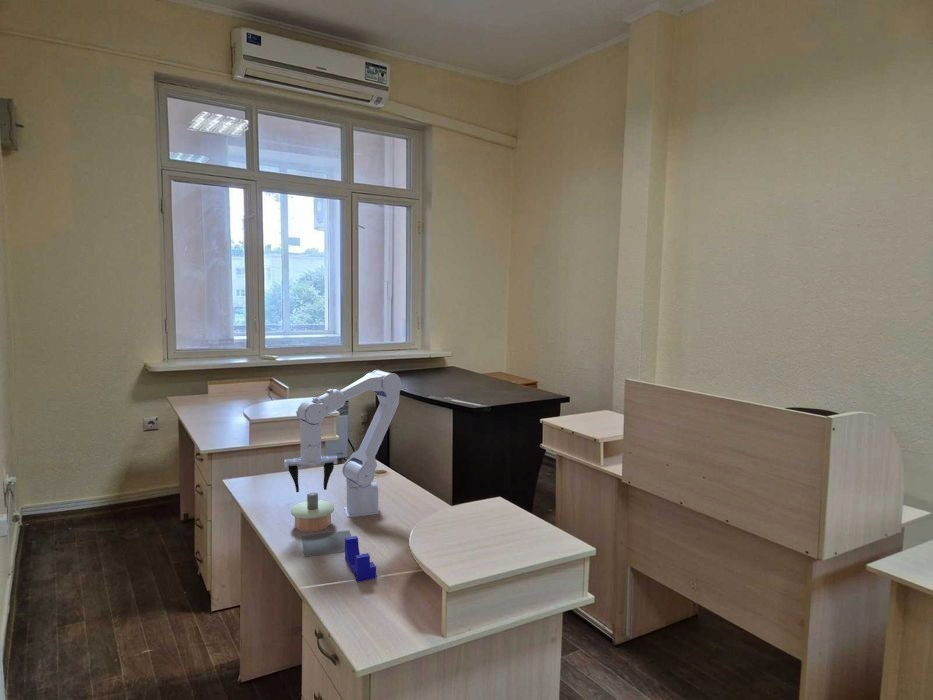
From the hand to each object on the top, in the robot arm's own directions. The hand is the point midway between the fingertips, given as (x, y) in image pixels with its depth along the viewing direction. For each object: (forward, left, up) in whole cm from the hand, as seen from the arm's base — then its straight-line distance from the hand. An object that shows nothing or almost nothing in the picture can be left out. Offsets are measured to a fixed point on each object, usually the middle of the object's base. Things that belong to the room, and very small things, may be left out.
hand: (311, 489), depth 167 cm
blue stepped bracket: (-10, +30, -11) cm, 33 cm away
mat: (-3, +14, -10) cm, 18 cm away
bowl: (0, 0, -10) cm, 10 cm away
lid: (0, +1, -6) cm, 6 cm away
